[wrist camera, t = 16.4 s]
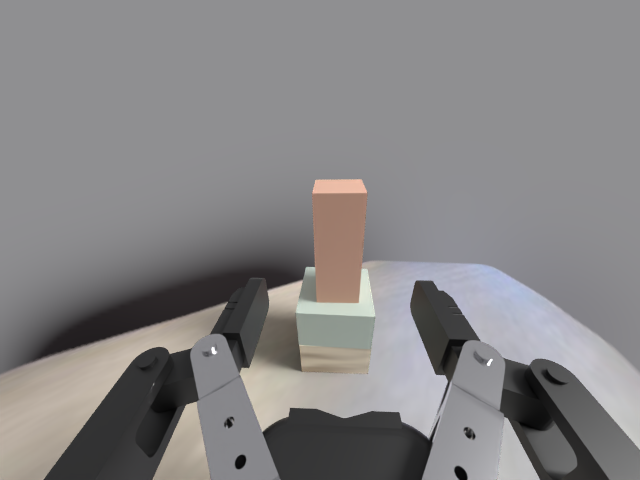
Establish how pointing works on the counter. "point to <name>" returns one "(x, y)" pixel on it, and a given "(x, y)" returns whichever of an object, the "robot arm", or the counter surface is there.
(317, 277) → the peach block
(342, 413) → the counter surface
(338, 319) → the tower top block
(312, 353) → the tower base block
